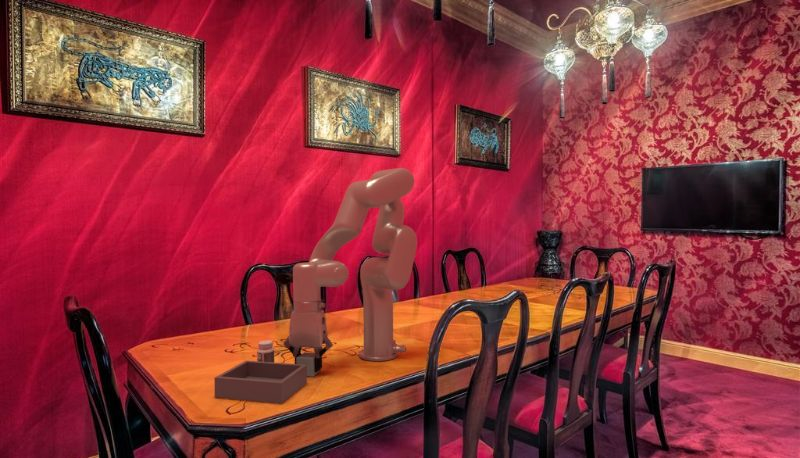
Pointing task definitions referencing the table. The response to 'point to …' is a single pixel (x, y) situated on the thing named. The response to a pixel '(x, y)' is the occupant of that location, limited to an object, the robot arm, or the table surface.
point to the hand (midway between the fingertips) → (308, 369)
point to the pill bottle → (265, 351)
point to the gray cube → (307, 362)
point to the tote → (261, 381)
